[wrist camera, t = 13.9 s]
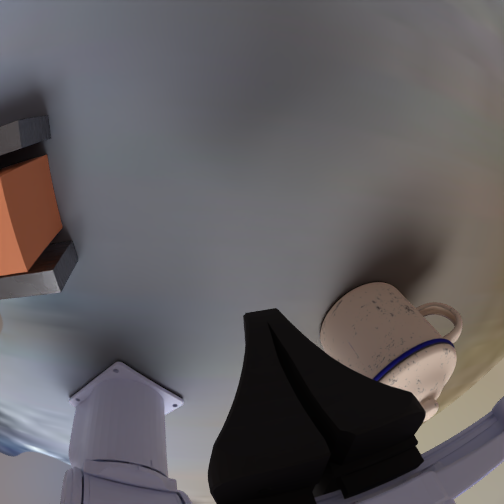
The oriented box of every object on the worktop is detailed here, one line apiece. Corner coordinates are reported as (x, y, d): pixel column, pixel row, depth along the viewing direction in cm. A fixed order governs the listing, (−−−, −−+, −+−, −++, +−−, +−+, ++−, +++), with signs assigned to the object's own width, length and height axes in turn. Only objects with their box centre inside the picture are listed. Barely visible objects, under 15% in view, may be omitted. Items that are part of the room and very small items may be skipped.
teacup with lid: (328, 369, 29) (376, 463, 19) (304, 309, 25) (368, 425, 15) (425, 314, 29) (490, 387, 19) (421, 246, 25) (514, 322, 15)
